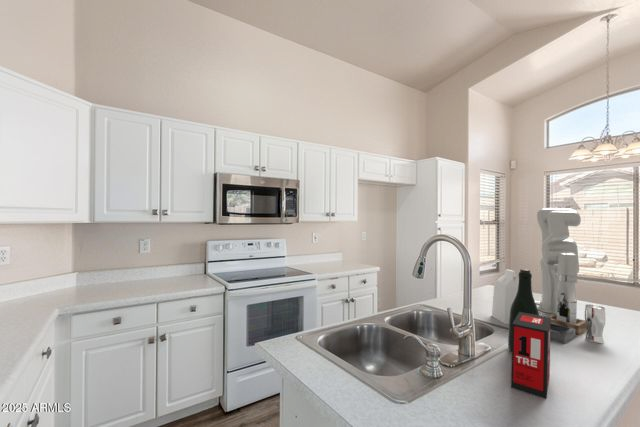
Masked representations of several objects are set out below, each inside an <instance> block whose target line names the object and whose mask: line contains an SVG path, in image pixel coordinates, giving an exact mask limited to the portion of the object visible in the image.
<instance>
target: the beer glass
mask: <svg viewBox="0 0 640 427" xmlns="http://www.w3.org/2000/svg"><path fill="white" fill-rule="evenodd" d="M606 315H607V313H606V308H605V307H604V306H601V305H596V304H589V303H587V304H585V307H584V320H585V323H586V328H587V331H586V334H585V340H587V341H588V342H591V343H595V344H604V342H605V341H604V340H605V339H604V336H603V335H604V329H605V325H606V320H607V318H606V317H607V316H606Z"/></svg>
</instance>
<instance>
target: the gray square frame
mask: <svg viewBox="0 0 640 427" xmlns="http://www.w3.org/2000/svg"><path fill="white" fill-rule="evenodd" d="M573 339H576V335H575V329H574V328H570V327H567V326H563V325H559V324H555V323H551V326H550V341H552V342H553V341H554V342H556V343H560V344H564V345H565V344H567V343H569V342H571V341H572V340H573Z"/></svg>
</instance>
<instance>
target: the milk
mask: <svg viewBox="0 0 640 427" xmlns="http://www.w3.org/2000/svg"><path fill="white" fill-rule="evenodd" d="M518 283H519V277H518V278H517V275H516V271H515V270H512V269H505V270H504V274H502V275H501V276H500V277H499V278H498V279H496V280H495V281H494V283H493V284H494V285H493V297H492V298H493V299H492V309H491V311H492V313H491V316H492V317H493V318H495V319H496V320H498V321H499V322H502V323H503V324H504V325H509V315H510V308H511V305H512V303H513V301H514V299H515V297H516V294H517V291H518Z"/></svg>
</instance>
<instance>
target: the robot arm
mask: <svg viewBox="0 0 640 427" xmlns="http://www.w3.org/2000/svg"><path fill="white" fill-rule="evenodd" d="M581 219H582V218H581V216H580V213H579V212H578V211H577V210H575V209H573V208H569V207H568V208H567V207H566V208H564V207H562V208H560V207H555V208H554V207H546V208H540V209H539V210H538V211H537V213H536V220H537V223H538V226H539V228H540V230H541V239H542V240H541V243H542V244H541V257H542V258H541V259H540V262H539V263H540V265H539V266H540V271H541V301H539V300H535V303H536V305H537V308H538V311H540V312H542V313H547V314H550V315H553V314H557V301H559V303H560V305H559V315H560V316H563V317H568V309H567V306H568V303H570V301H571V300H576V284H577V283H578V273H579V271H580V261H579V251H578V245H577V243H576V241H575V240H573V239H571V238H570V239H569V237H570V230H569V227H579V226H580V225H581ZM564 301H566V302H564ZM564 303H565V304H564Z"/></svg>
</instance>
